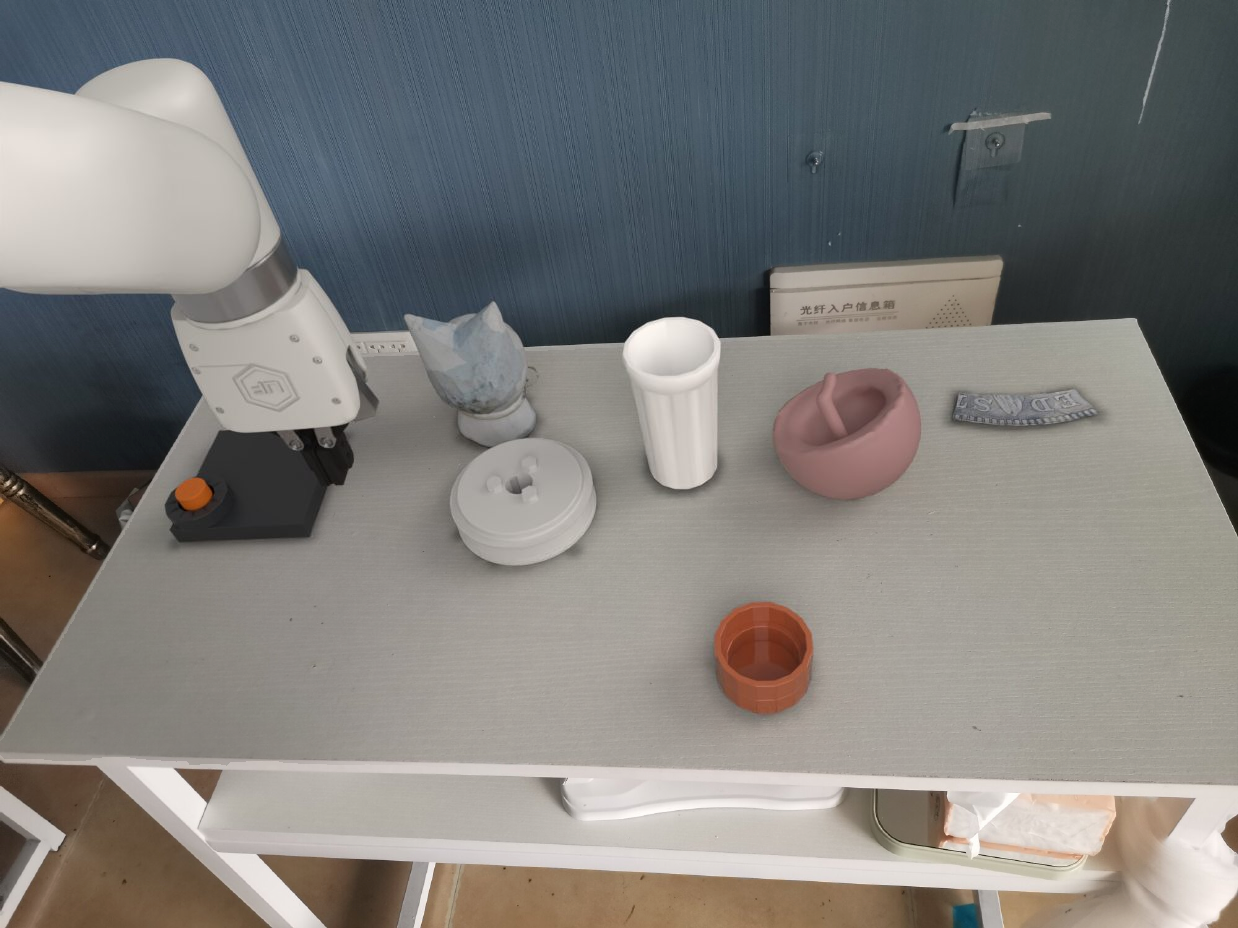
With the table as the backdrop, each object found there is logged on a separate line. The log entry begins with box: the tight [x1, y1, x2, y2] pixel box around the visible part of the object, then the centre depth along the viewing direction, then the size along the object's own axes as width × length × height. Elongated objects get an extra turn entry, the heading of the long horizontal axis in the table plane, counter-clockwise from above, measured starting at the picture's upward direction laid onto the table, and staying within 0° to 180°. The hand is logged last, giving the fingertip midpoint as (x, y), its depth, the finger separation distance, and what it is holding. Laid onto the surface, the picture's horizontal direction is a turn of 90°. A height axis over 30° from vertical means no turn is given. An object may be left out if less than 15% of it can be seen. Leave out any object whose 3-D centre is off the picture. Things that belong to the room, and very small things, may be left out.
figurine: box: [403, 300, 540, 448], centre depth 84 cm, size 10×9×15 cm
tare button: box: [175, 477, 213, 511], centre depth 82 cm, size 3×3×2 cm
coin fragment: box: [952, 388, 1101, 427], centre depth 81 cm, size 13×5×1 cm, turn 85°
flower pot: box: [713, 601, 814, 714], centre depth 65 cm, size 7×7×4 cm
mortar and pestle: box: [772, 367, 922, 501], centre depth 74 cm, size 12×12×12 cm
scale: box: [164, 429, 347, 543], centre depth 85 cm, size 13×13×4 cm
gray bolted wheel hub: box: [449, 437, 597, 566], centre depth 78 cm, size 13×13×5 cm
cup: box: [621, 316, 722, 490], centre depth 76 cm, size 8×8×14 cm
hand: (337, 472), depth 68 cm, fingers closed
